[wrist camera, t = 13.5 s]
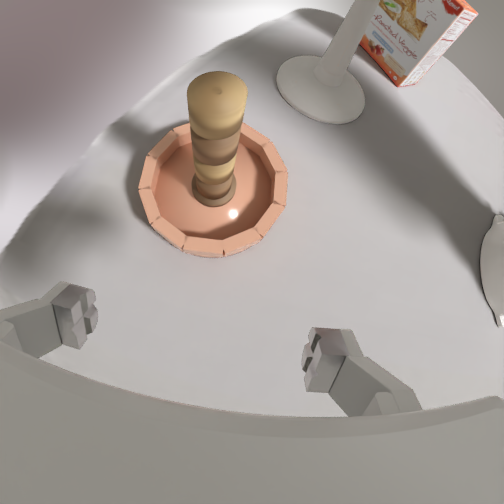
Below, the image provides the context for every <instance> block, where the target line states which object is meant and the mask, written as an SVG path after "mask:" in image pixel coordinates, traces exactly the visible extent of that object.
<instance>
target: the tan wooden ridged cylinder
mask: <svg viewBox="0 0 504 504" xmlns="http://www.w3.org/2000/svg"><path fill="white" fill-rule="evenodd" d="M247 94H248V91H247V87H246V85H245V83H244V82H243V81H242V80H241V79H240V78H239V77H237V76H236V75H233V74H231V73H227V72H221V71H214V72H208V73H205V74H202V75H200V76H198V77H196V78H195V79H194V80H193V81H192V82H191V83H190V85H189V86H188V89H187V100H188V111H189V122H190V132H191V141H192V150H193V160H194V168H195V174H194V176H193V178H192V183H191V186H192V192H193V195H194V197H195V199H196V200H197V201H198V202H199V203H201V204H202V205H204V206H207V207H220V206H223V205H225V204H227V203H228V202H229V201H230V200H231V199H232V198H233V196H234V194H235V191H236V178H235V176H234V174H233V172H234V166H235V160H236V155H237V149H238V143H239V138H240V132H241V125H242V121H243V115H244V110H245V105H246V99H247Z"/></svg>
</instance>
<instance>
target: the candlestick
mask: <svg viewBox="0 0 504 504" xmlns="http://www.w3.org/2000/svg"><path fill="white" fill-rule="evenodd" d="M379 2H380V0H355V2H354V3H353V5H352V7H351V8H350V10H349V12H348V14H347V15H346V17H345V19H344V20H343V22H342V24H341V26H340V27H339V29H338V31H337V33H336V34H335V36H334V38H333V40H332V41H331V43H330V45H329V47H328V48H327V50H326V52H325V54H324V55H323V57H318V56H309V55H304V56H297V57H293V58H290V59H288V60H287V61H285V62H284V63H283V64H282V65H281V66H280V68H279V70H278V73H277V77H276V82H277V86H278V89H279V91H280V93H281V95H282V96H283V98H284V99H285V100H286V101H287V102H288V103H289V104H290V105H291V106H292V107H293V108H294V109H296V110H297V111H299V112H300V113H302V114H303V115H305V116H307V117H309V118H312V119H314V120H317V121H320V122H324V123H329V124H344V123H349V122H351V121H353V120H355V119H356V118H358V117H359V115H360V114H361V113H362V111H363V109H364V106H365V96H364V92H363V90H362V88H361V86H360V84H359V82H358V81H357V80H356V78H355V77H354V76H353V75H352V74H351V73H350V72H349V71H348V70H347V68H348V66H349V64H350V61H351V59H352V57H353V55H354V53H355V51H356V49H357V47H358V45H359V43H360V41H361V39H362V37H363V35H364V33H365V31H366V29H367V27H368V25H369V23H370V21H371V19H372V17H373V14H374V12H375V10H376V8H377V6H378V4H379Z"/></svg>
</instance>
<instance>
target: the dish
mask: <svg viewBox="0 0 504 504" xmlns="http://www.w3.org/2000/svg"><path fill="white" fill-rule="evenodd" d="M194 174H195V168H194V160H193V150H192V141H191V132H190V123H187V124H184V125H182V126H179V127H176V128H173V131H172V130H170V131H169V132H168V133H167V134H166V135H165V136H164V137H163V138H162V139H161V140H160V141H159V142H158V143H157V144H156V145H155V146H154V147H153V149H152V150H151V151H150V152H149V153H148V156H146V159H145V163H144V167H143V171H142V175H141V179H140V183H139V187H138V189H139V190H138V191H139V194H140V197H141V200H142V203H143V206H144V209H145V212H146V215H147V217H148V220H149V223H150V224H151V226H152V227H153V228H154V230H155V231H156V232H158V233H159V234H160V235H161V236H163V237H164V238H165V239H166V240H167V241H168V242H169V243H170V244H172V245H173V246H175V247H176V248H178V249H179V250H181V251H182V252H185V253H188V254H191V255H194V256H199V257H207V258H218V257H221V258H222V257H226V256H231V255H234V254H237V253H240V252H242V251H244V250H246V249H248V248H249V247H251V246H252V245H255V244H257V243H259V241H261V240H262V238H263V237H264V236H265V234H266V233H267V232H268V230H269V229H270V228H271V226H272V225H273V223H274V222H275V221H276V219H277V218H278V217H279V215H280V214H281V212H282V211H283V210H284V208H285V206H286V195H287V178H288V172H287V169H286V167H285V165H284V163H283V161H282V159H281V157H280V155H279V154H278V152H277V150H276V148H275V146H274V144H273V143H272V142H270V139H268V138H267V137H265V136H264V135H262V134H261V133H259V132H257V131H256V130H254V129H253V128H251V127H250V126H248V125H246V124H245V123H243V122H242V125H241V132H240V138H239V143H238V149H237V155H236V160H235V166H234V172H233V174H234V176H235V178H236V191H235V194H234V196H233V198H232V199H231V200H230V201H229V202H228V203H227V204H225V205H223V206H220V207H207V206H204V205H202V204H201V203H199V202H198V201H197V200H196V199H195V197H194V195H193V192H192V186H191V183H192V178H193V176H194Z"/></svg>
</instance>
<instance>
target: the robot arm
mask: <svg viewBox="0 0 504 504" xmlns="http://www.w3.org/2000/svg"><path fill="white" fill-rule="evenodd" d="M480 267H481V278H482V284H483V289H484V293H485V296H486V299H487V301H488V303H489V305H490V307H491V308H492V310H493V311H494V313H495V317H496V321H497V325H498V327H499V328H501V327H504V217H503V216H502V215H495V217H494V220H493V224H492V227H491V228H490V229H489V231H488V232H487V233H486V235H485V237H484V240H483V243H482V248H481V258H480ZM95 301H96V297H95V292H94V291H93V290H92V289H89V288H85V287H82V286H78V285H74V284H71V283H67V282H59V283H58V284H57V285H56V286H55V287H53V288H52V289H51V290H50V291H49V292H48V293H46V294H45V295H44V296H43V297H42V298H41V299H40V300H38V299H35V300H31V301H28V302H25V303H21V304H18V305H15V306H11V307H8V308H5V309H2V310H0V504H504V399H502V398H500V397H498V396H488V397H484V398H481V399H477V400H473V401H468V402H464V403H459V404H455V405H450V406H444V407H439V408H433V409H427V410H422V407H421V405H420V403H419V401H418V399H417V397H416V395H415V393H414V391H413V389H411V388H410V387H408V386H407V385H406V384H404V383H403V382H401V381H400V380H399V379H397V378H396V377H394V376H393V375H392V374H390V373H389V372H388V371H386V370H385V369H383V368H382V367H381V366H379V365H378V364H377V363H375V362H374V361H372V360H371V359H370V358H368V357H364V356H363V354H362V351H361V349H360V347H359V345H358V342H357V340H356V338H355V336H354V333H353V331H352V330H350V329H330V328H317V327H312V328H311V330H310V332H309V335H308V338H309V343H307V344H306V345H305V347H304V350H303V354H302V370H303V371H304V372H305V373H306V374H305V377H304V382H305V387H306V392H321V393H329V395H330V396H331V397H332V399H333V400H334V401H335V402H336V403H337V404H338V405H339V407H340V408H341V409H342V410H343V411H344V412H345V413H346V414H347V416H348V417H291V416H274V415H261V414H251V413H242V412H233V411H226V410H219V409H212V408H206V407H200V406H194V405H189V404H184V403H179V402H174V401H169V400H164V399H160V398H156V397H151V396H147V395H143V394H139V393H136V392H132V391H128V390H125V389H121V388H118V387H114V386H111V385H108V384H105V383H101V382H98V381H95V380H92V379H89V378H87V377H84V376H81V375H78V374H75V373H73V372H70V371H67V370H65V369H62V368H60V367H57V366H55V365H52V364H50V363H47V362H45V361H43V360H41V359H38V358H40V357H42V356H43V355H45V354H47V353H49V352H51V351H52V350H54V349H56V348H58V347H59V346H61V345H62V344H63V345H66V346H70V347H73V348H76V349H79V350H80V349H81V347H82V346H83V344H84V343H85V342H86V340H87V334H89V333H92V332H93V331H94V329H95V328H96V325H97V322H98V311H97V308H96V307H95V306H94V302H95Z"/></svg>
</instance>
